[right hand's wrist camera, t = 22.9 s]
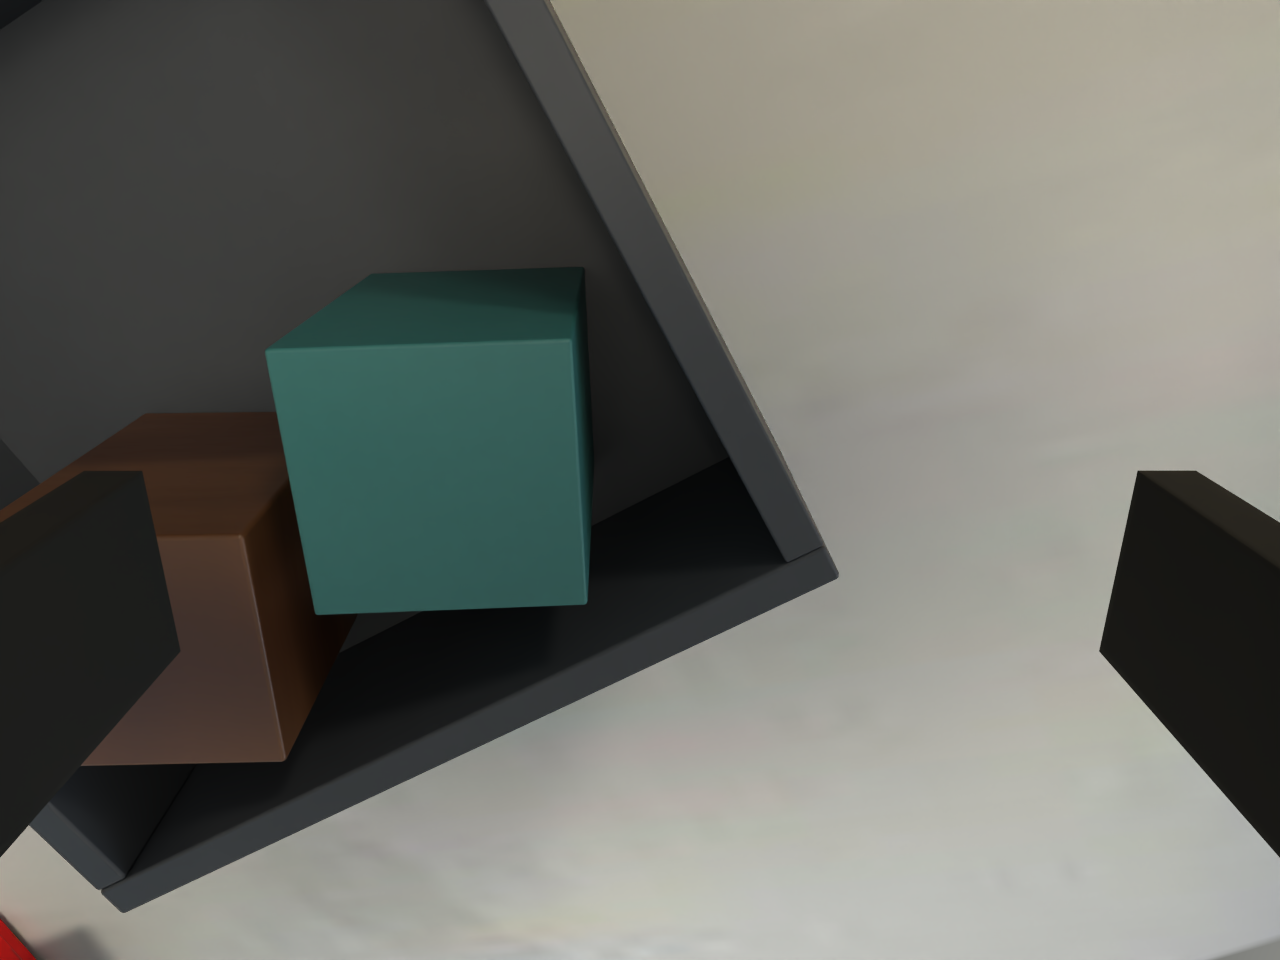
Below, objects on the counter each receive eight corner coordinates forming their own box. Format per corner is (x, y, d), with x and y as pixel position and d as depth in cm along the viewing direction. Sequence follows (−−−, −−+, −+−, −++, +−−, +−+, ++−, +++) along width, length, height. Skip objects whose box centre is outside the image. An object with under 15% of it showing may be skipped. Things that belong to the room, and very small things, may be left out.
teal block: (369, 273, 21) (262, 349, 15) (584, 266, 21) (572, 338, 15) (397, 472, 23) (314, 616, 17) (594, 465, 23) (587, 605, 17)
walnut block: (143, 411, 22) (-49, 539, 16) (349, 409, 22) (242, 535, 16) (183, 590, 24) (27, 769, 18) (372, 587, 24) (285, 764, 18)
